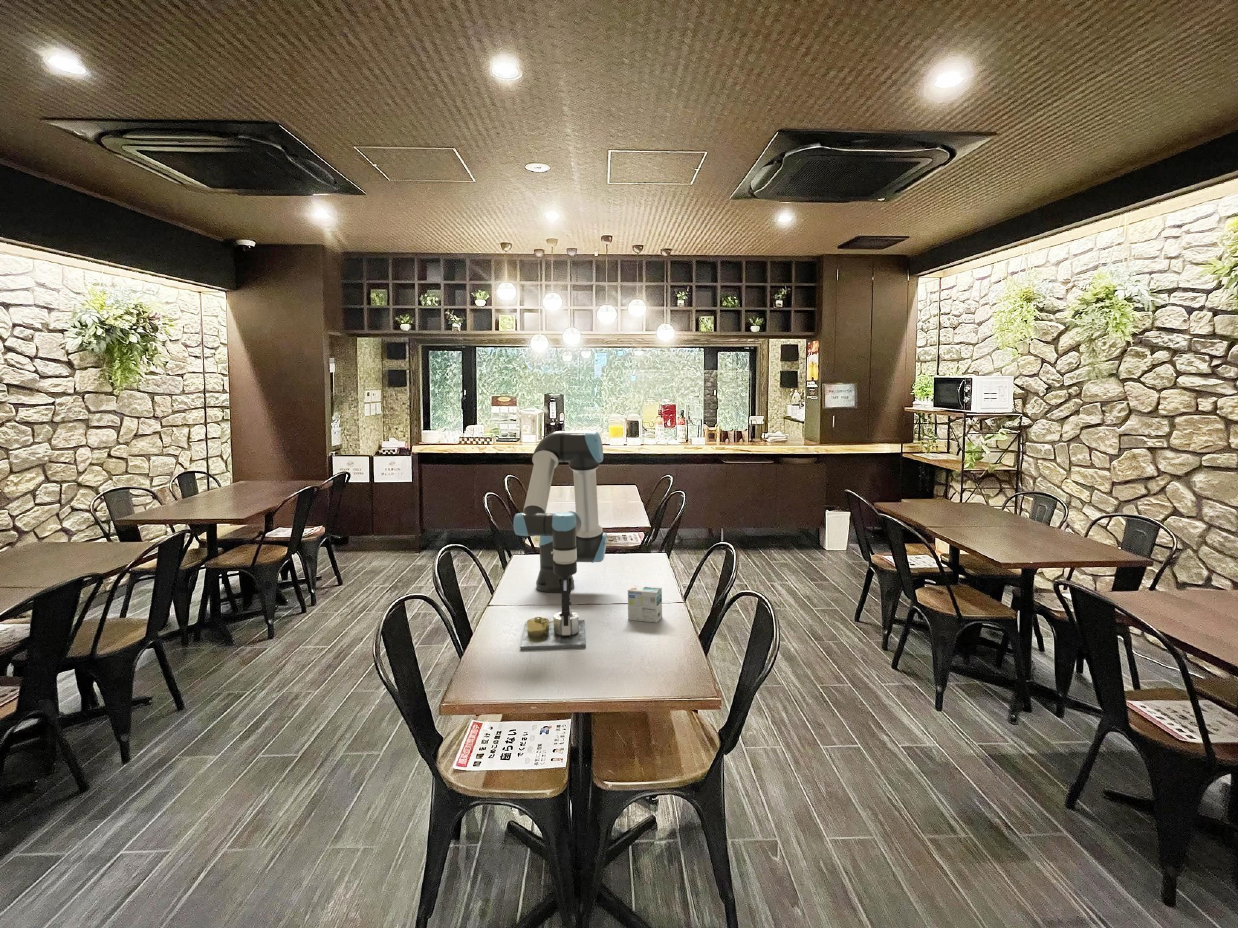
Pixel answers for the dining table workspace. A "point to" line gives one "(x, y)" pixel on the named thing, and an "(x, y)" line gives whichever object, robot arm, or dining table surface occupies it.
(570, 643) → the carrier
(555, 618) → the planet gear
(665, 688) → the dining table surface
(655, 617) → the light bulb box
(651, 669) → the dining table surface
